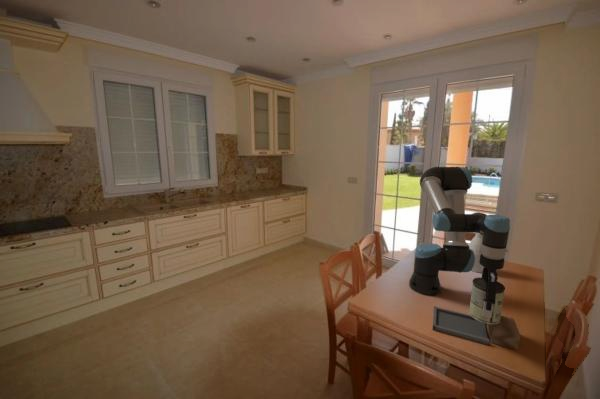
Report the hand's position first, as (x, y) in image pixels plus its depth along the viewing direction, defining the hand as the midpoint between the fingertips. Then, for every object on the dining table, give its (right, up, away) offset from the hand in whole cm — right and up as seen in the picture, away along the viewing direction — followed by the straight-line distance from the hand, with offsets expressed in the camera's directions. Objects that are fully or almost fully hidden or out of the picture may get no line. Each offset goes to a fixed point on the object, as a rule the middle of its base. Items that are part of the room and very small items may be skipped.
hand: (484, 308), depth 105 cm
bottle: (+33, +1, +56) cm, 65 cm away
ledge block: (+6, -11, -1) cm, 12 cm away
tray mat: (-7, -9, +6) cm, 13 cm away
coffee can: (0, -3, +1) cm, 3 cm away
